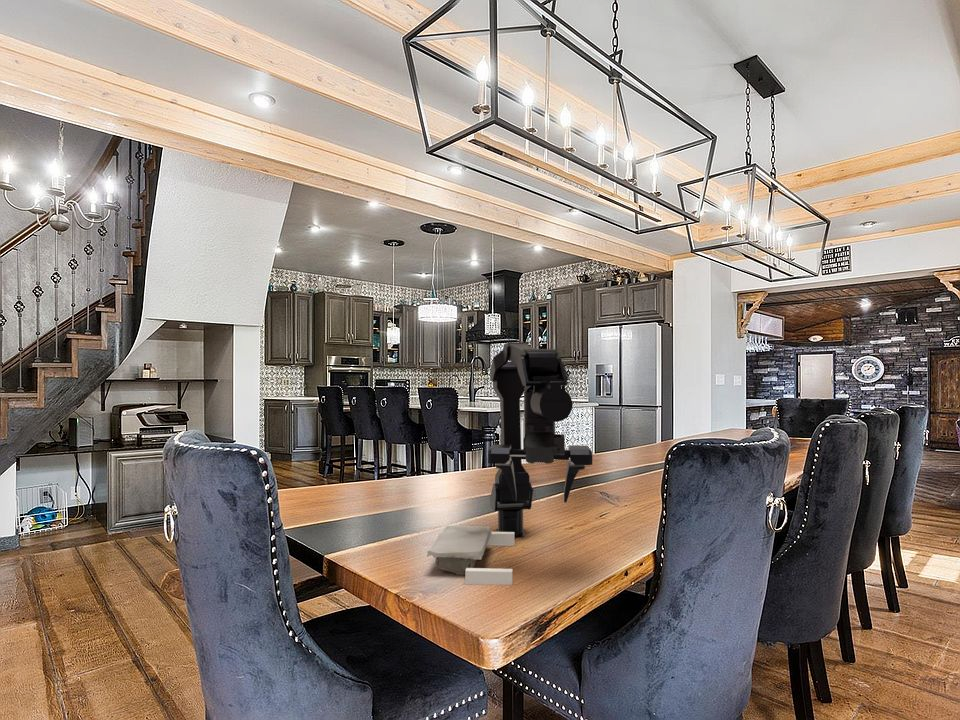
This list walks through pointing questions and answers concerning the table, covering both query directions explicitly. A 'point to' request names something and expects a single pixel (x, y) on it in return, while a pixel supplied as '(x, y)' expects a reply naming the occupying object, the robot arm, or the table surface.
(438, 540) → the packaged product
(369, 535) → the table surface
